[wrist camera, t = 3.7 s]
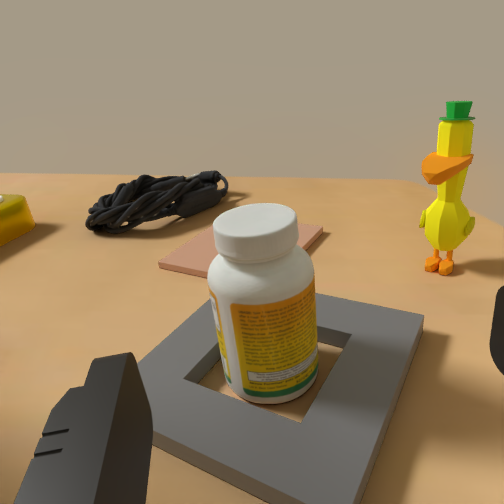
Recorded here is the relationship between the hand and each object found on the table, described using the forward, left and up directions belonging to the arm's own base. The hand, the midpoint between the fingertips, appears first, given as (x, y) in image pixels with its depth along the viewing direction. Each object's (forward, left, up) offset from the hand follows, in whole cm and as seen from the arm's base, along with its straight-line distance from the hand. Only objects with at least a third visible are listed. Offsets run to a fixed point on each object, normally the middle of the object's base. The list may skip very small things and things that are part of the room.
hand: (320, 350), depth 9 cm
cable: (+28, +34, -11) cm, 45 cm away
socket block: (+9, +7, -11) cm, 16 cm away
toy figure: (+24, +1, -11) cm, 26 cm away
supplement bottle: (+9, +7, -11) cm, 16 cm away
